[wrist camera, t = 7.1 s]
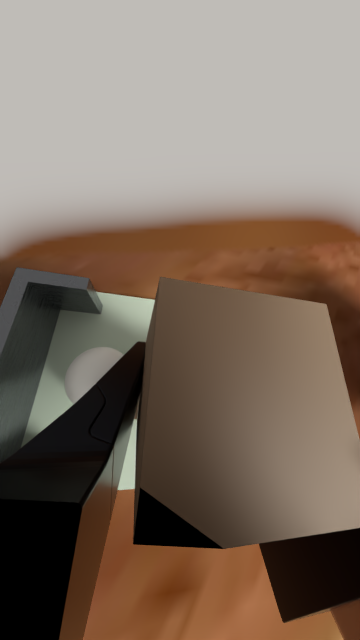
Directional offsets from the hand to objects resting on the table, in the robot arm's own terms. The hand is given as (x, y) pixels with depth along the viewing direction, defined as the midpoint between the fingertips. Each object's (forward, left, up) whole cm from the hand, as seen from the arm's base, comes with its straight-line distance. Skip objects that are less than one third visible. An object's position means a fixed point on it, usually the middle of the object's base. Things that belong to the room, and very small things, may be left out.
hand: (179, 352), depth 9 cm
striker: (-1, +1, -6) cm, 7 cm away
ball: (+2, +4, -4) cm, 6 cm away
